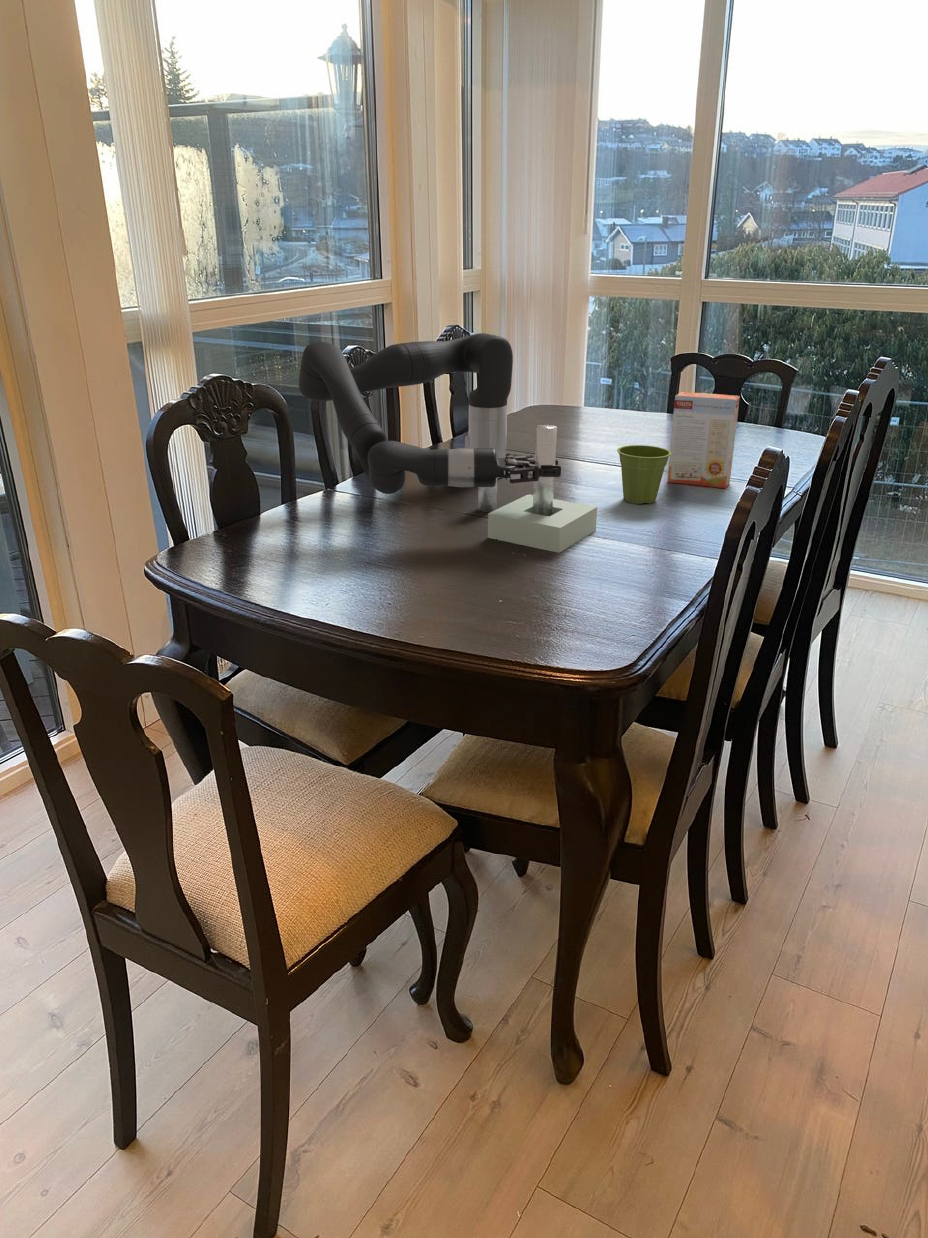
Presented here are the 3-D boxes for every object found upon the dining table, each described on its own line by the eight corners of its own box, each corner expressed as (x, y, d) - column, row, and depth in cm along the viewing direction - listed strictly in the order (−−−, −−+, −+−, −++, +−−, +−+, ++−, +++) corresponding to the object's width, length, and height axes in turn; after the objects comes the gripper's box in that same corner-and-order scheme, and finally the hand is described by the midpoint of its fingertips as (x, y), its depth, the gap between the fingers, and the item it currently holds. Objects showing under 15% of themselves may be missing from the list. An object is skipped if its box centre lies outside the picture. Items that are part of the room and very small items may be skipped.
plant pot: (666, 509, 197) (671, 458, 193) (612, 506, 200) (615, 455, 195) (666, 494, 208) (671, 445, 203) (614, 491, 210) (618, 443, 206)
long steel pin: (528, 527, 181) (532, 427, 173) (537, 522, 184) (542, 423, 176) (545, 531, 179) (550, 430, 171) (555, 525, 182) (560, 426, 174)
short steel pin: (474, 510, 197) (475, 465, 193) (484, 505, 200) (485, 461, 196) (490, 513, 195) (491, 467, 190) (500, 508, 198) (500, 463, 194)
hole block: (487, 537, 180) (488, 513, 178) (527, 517, 192) (528, 494, 190) (559, 552, 172) (560, 527, 170) (595, 530, 184) (597, 506, 182)
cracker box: (730, 483, 217) (741, 394, 208) (725, 489, 212) (736, 399, 203) (672, 476, 222) (680, 390, 213) (666, 482, 217) (674, 394, 208)
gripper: (473, 457, 168) (565, 457, 169) (470, 440, 181) (555, 440, 181) (472, 496, 171) (562, 496, 172) (469, 476, 184) (553, 476, 185)
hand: (558, 467), depth 177 cm, fingers closed on long steel pin, 4 cm apart
